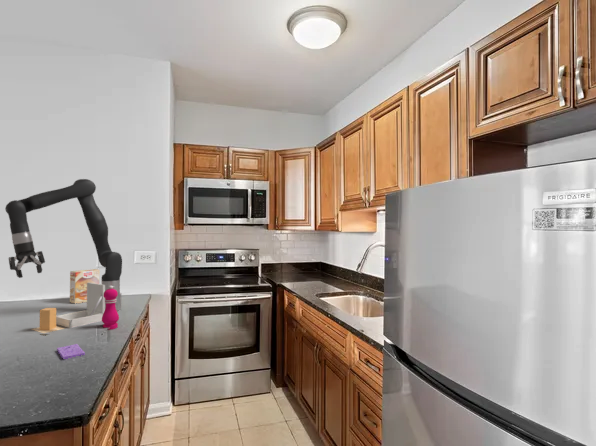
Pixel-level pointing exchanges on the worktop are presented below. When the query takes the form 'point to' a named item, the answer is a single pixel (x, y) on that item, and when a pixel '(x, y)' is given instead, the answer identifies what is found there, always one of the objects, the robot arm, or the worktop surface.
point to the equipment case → (93, 309)
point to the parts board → (47, 330)
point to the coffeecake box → (81, 284)
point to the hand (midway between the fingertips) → (30, 275)
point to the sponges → (70, 351)
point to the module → (47, 318)
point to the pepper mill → (110, 309)
